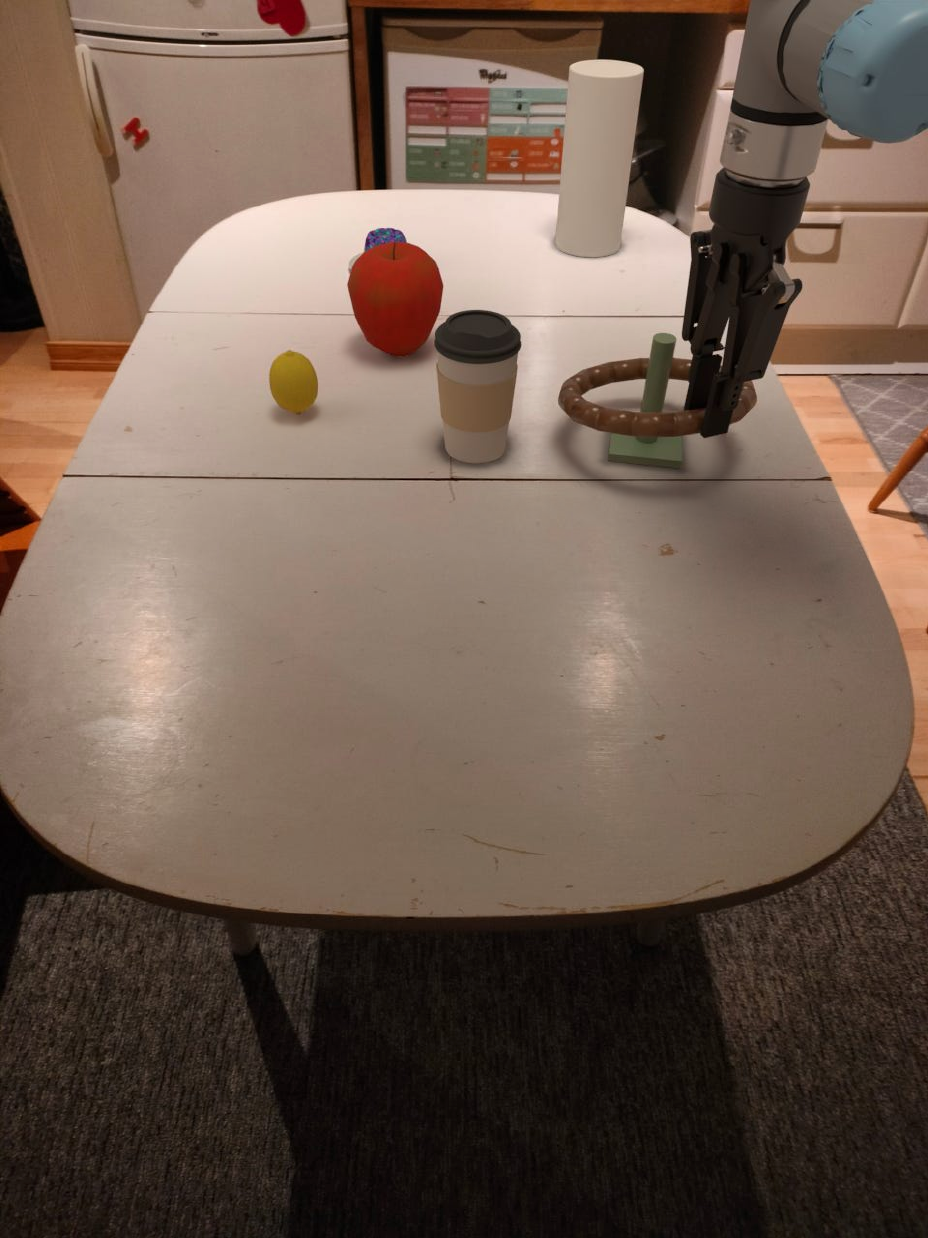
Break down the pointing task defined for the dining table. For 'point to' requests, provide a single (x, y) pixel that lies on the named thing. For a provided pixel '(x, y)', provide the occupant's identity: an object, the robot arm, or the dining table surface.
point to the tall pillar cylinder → (597, 155)
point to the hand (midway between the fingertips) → (704, 424)
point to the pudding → (380, 240)
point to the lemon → (293, 382)
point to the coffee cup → (476, 382)
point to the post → (655, 388)
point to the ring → (638, 421)
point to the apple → (395, 296)
